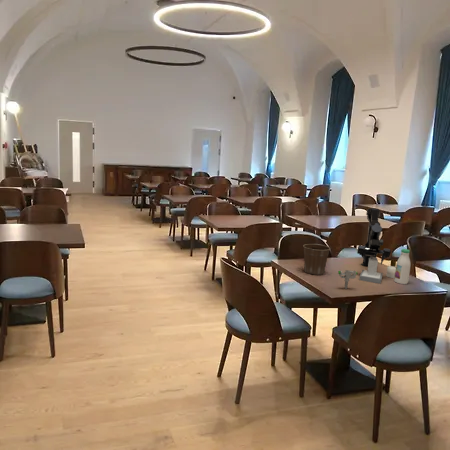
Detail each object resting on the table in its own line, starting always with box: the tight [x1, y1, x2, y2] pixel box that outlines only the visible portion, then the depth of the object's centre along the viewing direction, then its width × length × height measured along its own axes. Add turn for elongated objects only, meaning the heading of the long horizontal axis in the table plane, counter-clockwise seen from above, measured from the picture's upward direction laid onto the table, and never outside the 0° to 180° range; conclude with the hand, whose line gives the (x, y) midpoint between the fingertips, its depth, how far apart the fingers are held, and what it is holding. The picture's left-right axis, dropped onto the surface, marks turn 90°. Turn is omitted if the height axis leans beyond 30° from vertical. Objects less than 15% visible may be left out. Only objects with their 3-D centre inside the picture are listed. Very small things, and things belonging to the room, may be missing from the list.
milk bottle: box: [393, 248, 411, 285], centre depth 259 cm, size 8×8×20 cm
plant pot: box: [302, 243, 331, 276], centre depth 268 cm, size 16×16×16 cm
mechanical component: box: [337, 270, 358, 290], centre depth 240 cm, size 3×10×10 cm, turn 95°
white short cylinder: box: [385, 265, 396, 279], centre depth 271 cm, size 6×6×6 cm
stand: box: [358, 269, 384, 285], centre depth 264 cm, size 16×12×3 cm
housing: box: [367, 256, 379, 276], centre depth 263 cm, size 6×4×10 cm
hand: (373, 263), depth 261 cm, fingers open, 9 cm apart
